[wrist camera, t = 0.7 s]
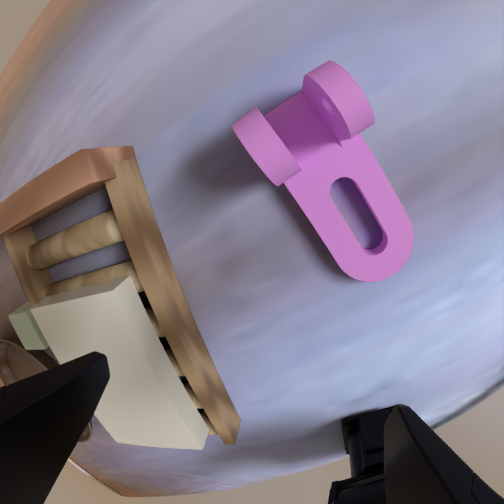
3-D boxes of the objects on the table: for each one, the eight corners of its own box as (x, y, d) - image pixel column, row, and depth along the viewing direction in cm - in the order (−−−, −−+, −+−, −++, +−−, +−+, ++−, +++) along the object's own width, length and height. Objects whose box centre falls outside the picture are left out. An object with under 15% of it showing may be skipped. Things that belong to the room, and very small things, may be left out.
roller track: (241, 420, 27) (230, 468, 21) (126, 420, 30) (106, 456, 24) (132, 145, 20) (80, 149, 14) (19, 208, 23) (-26, 224, 17)
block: (68, 328, 26) (45, 349, 23) (47, 331, 27) (25, 349, 24) (50, 293, 25) (25, 311, 22) (30, 298, 26) (7, 315, 22)
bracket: (247, 130, 19) (224, 120, 12) (318, 83, 17) (331, 50, 10) (354, 287, 21) (375, 344, 15) (418, 246, 19) (463, 288, 13)
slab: (209, 429, 25) (202, 449, 22) (125, 426, 27) (116, 442, 24) (130, 275, 20) (112, 290, 18) (47, 296, 22) (29, 309, 20)
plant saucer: (82, 441, 35) (74, 453, 32) (0, 366, 33) (-10, 376, 30) (119, 403, 29) (108, 421, 27) (11, 301, 27) (-5, 313, 24)
